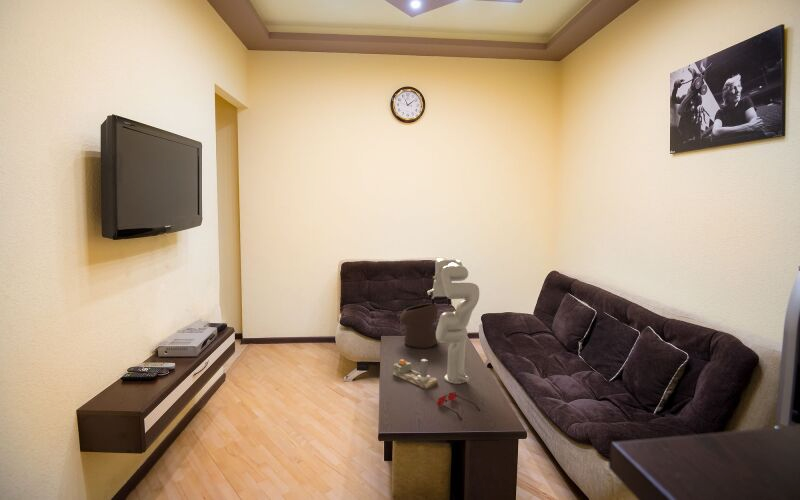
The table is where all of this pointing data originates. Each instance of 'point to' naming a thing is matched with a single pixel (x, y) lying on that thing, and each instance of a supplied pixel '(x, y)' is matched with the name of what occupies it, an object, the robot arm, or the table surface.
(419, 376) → the carriage
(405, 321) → the vase
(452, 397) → the glasses
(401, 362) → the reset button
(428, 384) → the board
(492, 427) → the table surface
